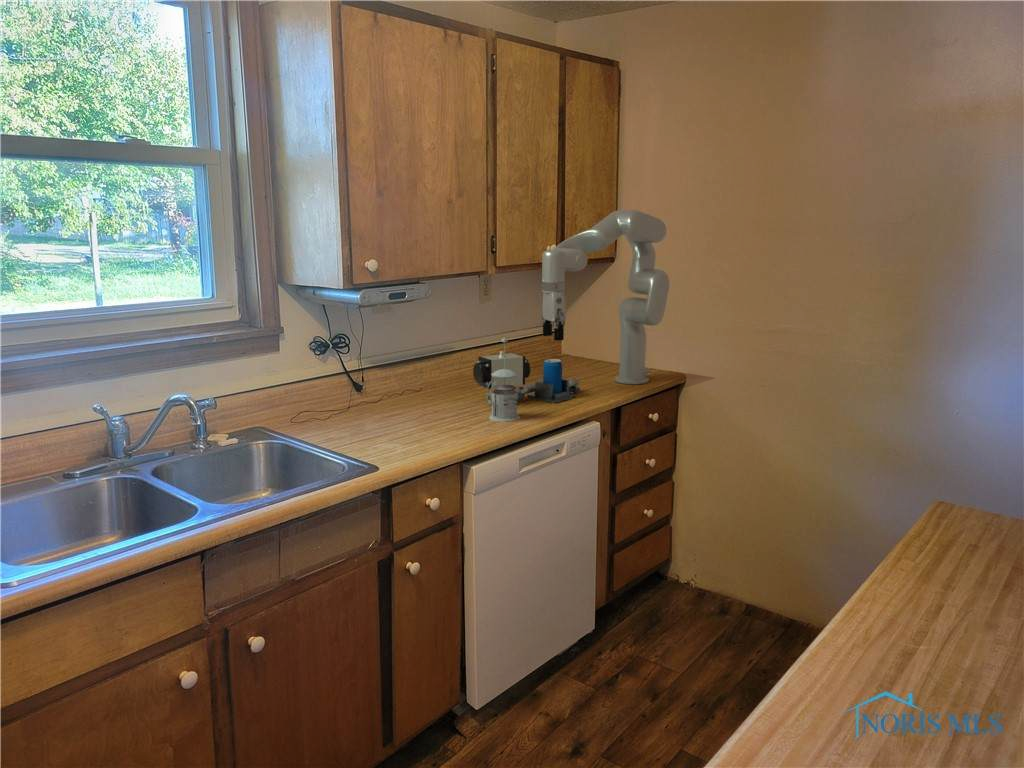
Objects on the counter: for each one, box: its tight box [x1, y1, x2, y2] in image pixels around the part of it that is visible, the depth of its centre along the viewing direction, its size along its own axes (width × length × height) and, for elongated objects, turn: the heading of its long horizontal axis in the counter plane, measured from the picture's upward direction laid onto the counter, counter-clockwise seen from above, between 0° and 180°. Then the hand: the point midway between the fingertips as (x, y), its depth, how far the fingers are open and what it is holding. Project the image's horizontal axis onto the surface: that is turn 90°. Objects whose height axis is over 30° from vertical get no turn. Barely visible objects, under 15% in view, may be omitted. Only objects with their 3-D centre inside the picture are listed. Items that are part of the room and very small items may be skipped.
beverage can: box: [542, 358, 563, 396], centre depth 260 cm, size 6×6×12 cm
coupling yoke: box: [515, 378, 581, 404], centre depth 262 cm, size 24×15×6 cm, turn 137°
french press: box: [486, 337, 521, 423], centre depth 233 cm, size 10×12×25 cm
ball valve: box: [472, 350, 531, 405], centre depth 251 cm, size 18×8×18 cm, turn 120°
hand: (553, 337), depth 258 cm, fingers open, 9 cm apart
